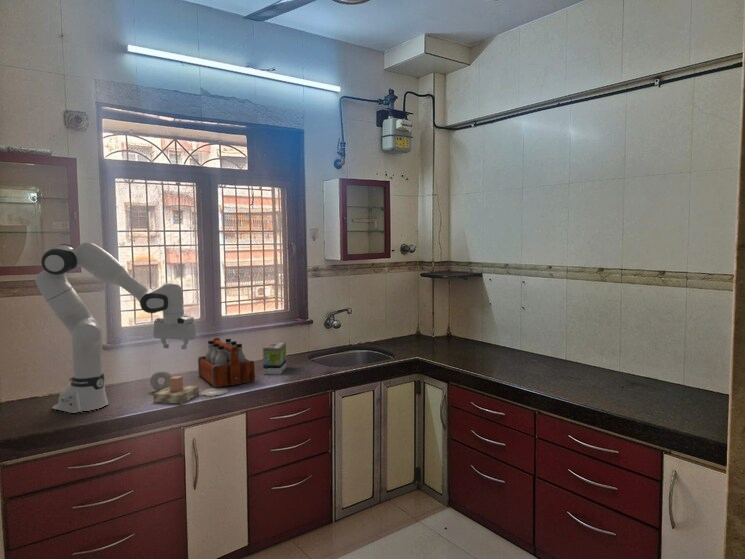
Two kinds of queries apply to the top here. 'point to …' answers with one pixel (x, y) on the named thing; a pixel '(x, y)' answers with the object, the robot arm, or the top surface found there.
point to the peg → (176, 383)
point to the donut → (156, 376)
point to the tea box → (274, 358)
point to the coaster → (214, 391)
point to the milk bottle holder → (225, 364)
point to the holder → (176, 395)
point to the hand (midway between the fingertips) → (175, 348)
